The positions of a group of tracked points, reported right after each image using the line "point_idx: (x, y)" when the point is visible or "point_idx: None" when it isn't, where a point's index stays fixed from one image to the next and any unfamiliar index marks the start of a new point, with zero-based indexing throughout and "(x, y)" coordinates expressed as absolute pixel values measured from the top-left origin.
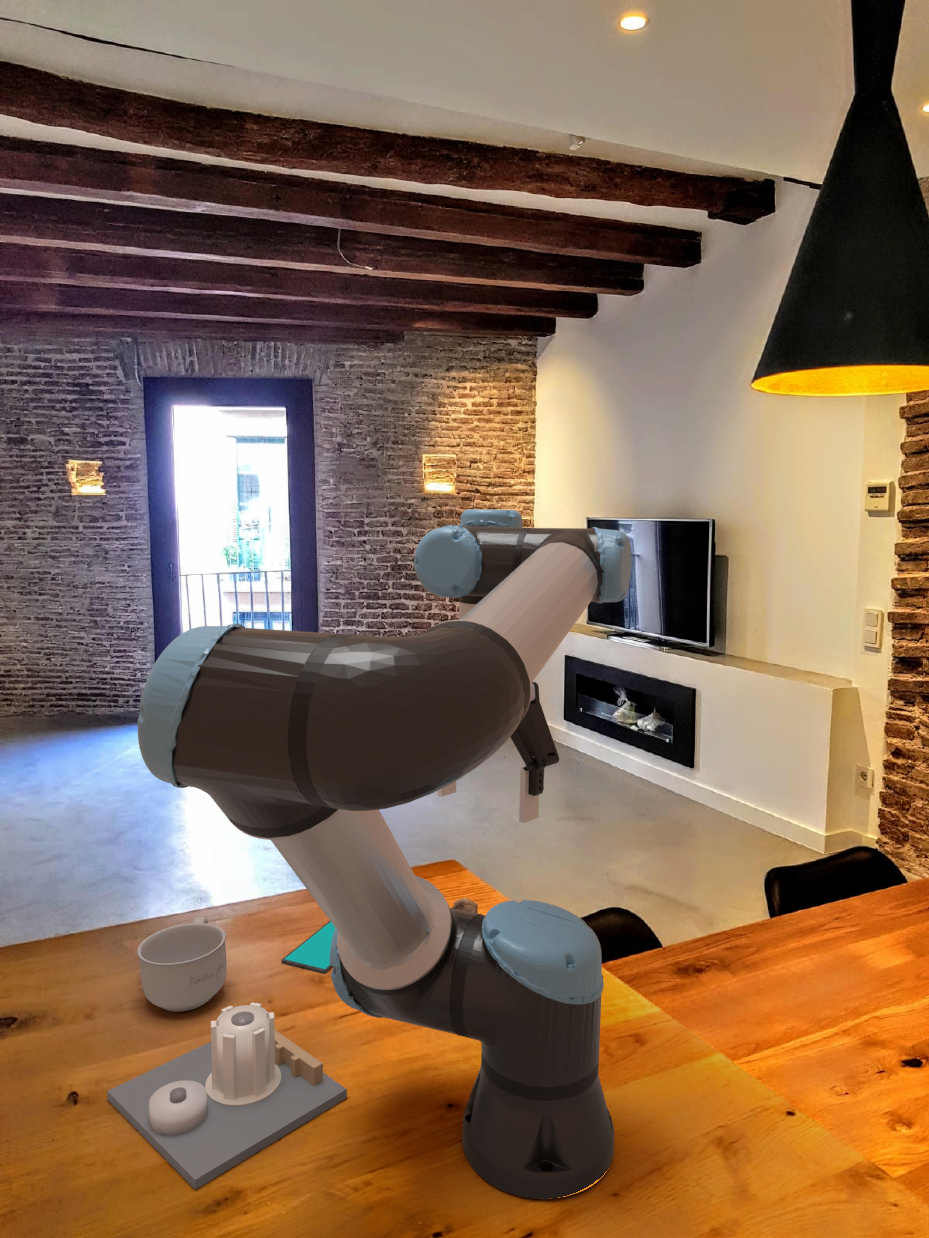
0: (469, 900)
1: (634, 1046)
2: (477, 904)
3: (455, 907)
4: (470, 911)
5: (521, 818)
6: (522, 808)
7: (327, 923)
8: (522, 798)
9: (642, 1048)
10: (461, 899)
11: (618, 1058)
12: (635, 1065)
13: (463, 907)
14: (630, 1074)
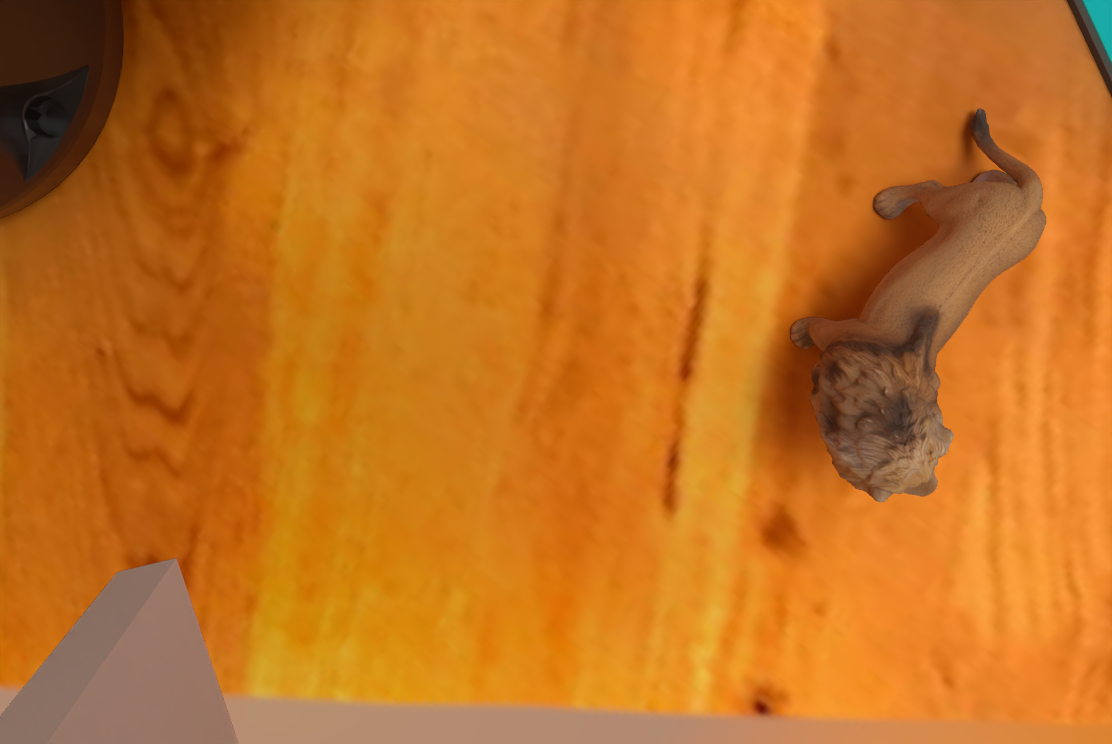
0: (899, 475)
1: (135, 539)
2: (877, 500)
3: (904, 405)
4: (854, 448)
5: (133, 578)
6: (87, 631)
7: None
8: (46, 690)
9: (116, 552)
10: (929, 453)
11: (111, 463)
12: (60, 481)
13: (882, 431)
14: (32, 441)
